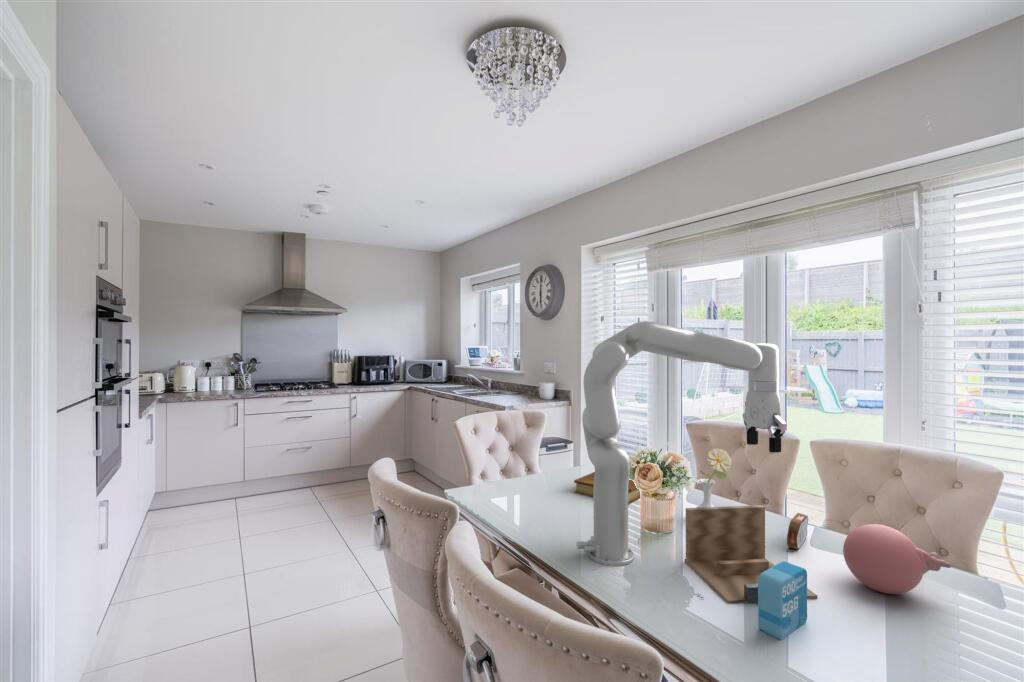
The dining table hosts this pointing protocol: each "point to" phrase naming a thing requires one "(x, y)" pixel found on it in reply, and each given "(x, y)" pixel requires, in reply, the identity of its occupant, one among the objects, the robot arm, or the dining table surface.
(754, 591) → the grey rectangular bar
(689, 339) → the robot arm
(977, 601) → the dining table surface
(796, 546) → the tin
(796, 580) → the data package
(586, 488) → the diary
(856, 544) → the balloon
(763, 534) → the shelf
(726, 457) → the flower in vase
